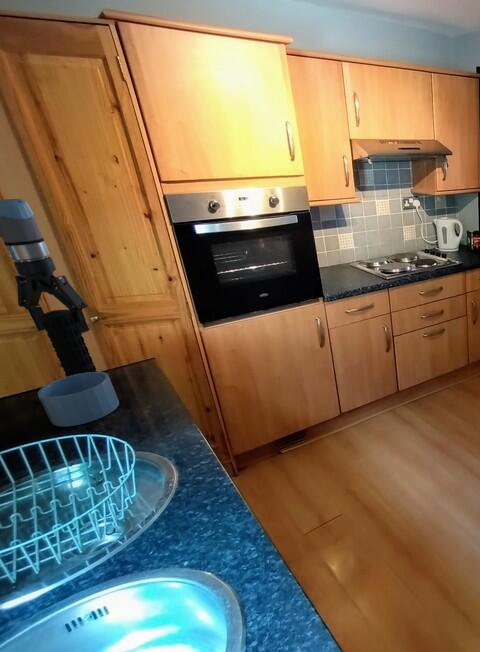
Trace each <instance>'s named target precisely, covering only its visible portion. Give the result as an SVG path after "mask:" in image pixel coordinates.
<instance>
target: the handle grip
mask: <svg viewBox="0 0 480 652" xmlns="http://www.w3.org/2000/svg"><path fill="white" fill-rule="evenodd" d="M69 311H70V310H69V309H54V310H51V311H48V312H44V314H42V315H40V316H39V317H40V318H41V319H42V320H43V321H42V324H43V326H44V327H45V328H46V329H45V332H46V333H47V334H46V335H47V337H48V338H49V341H50V342H51V346H52V348H53V349H54V352H55V353H56V357H57V358H58V361H59V362H60V366H61V368H62V370H63V372H64V375H65V377H67V376H71V375H75V374H80V373H86V372H98V371H97V368H96V366H95V363H94V361H93V358H92V356H91V353H90V352H89V348H88V346H87V344H86V342H85V338H84V336H83V333H81V334H78V333H77V331H76V328H75V326H74V324H73V321H72V319H71V317H70V314H69Z"/></svg>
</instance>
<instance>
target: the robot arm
mask: <svg viewBox="0 0 480 652" xmlns="http://www.w3.org/2000/svg"><path fill="white" fill-rule="evenodd" d="M0 238H1V240H2V241H3V244H4V246H5V248H6V250H7V254H8V255H9V257H10V259H11V261H12V260H13V261H14V262H13V266H14V268H15V270H16V272H17V274H18V275H15V277H14V279H15V281H16V284H17V305H18V307H20V308H24V309H26V310H27V311H28V313H29V316H30V318H31V320H33V323H34V325H35V326H36V329H37V331H38V332H42V331H46V328H45V327H44V326H43V324H42V321H43V320H42V319H41V318H40V317H39V316H40V315H42V314H44V313H45V312H44V310H43V307H42V306H41V304H40V299H41V297H42V293H46V294H49V295H51V296H53V297H54V298H55V299H56V300H57V301H59V302H60V303H61V304H63V305H64V306H65V307H66V308H67V310H70V311H69V314H70V317H71V319H72V321H73V324H74V326H75V328H76V331H77V333H78V334H83V333H86V332H88V331H90V328H89V325H88V323H87V321H86V317H85V314H84V312H83V311H84V310H83V309H85V308H88V304H87V303H86V302H85V300H84V299H83V298H82V297H81V295H79V293H78V292H77V290H76V289H74V287H73V286H72V285H71V284H70V283H69V281H68V279H67V276H65V275H60V276H56V275H55V274H54V272H55V271H56V270H57V267H56V265H55V263H54V260H53V258H52V257H50V255H51V254H50V250H49V249H48V247H47V243H46V242H45V238H44V237H43V234H42V232H41V230H40V226H39V224H38V222H37V219H36V217H35V213H34V212H33V210H32V208H31V207H30V204H29V202H28V201H27V200H25V199H22V198H5V199H4V198H3V199H0Z"/></svg>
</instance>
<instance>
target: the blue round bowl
mask: <svg viewBox="0 0 480 652" xmlns="http://www.w3.org/2000/svg"><path fill="white" fill-rule="evenodd" d="M37 396H38V398H39V401H40V403H41V405H42V407H43V409H44V411H45V413H46V415H47V417H48V419H49V421H50V422H51V424H52V425H54V426H55V427H74V426H79V425H83V424H88V423H90V422H94V421H96V420H99V419H102V418H104V417H105V416H107V415H109V414H111V413H112V412H114V411H115V410H116V409H118V407H119V406H120V400H119V397H118V395H117V393H116V390H115V387H114V386H113V383H112V380H111V378H110V375H109V373H106V372H105V371H97V372H86V373H80V374H75V375H71V376H67V377H66V376H65V377H62V378H59V379H56V380H54V381H52V382H50V383H47V384H46V385H44V386H43V387H41V388H40V389H39V390H38V391H37Z"/></svg>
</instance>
